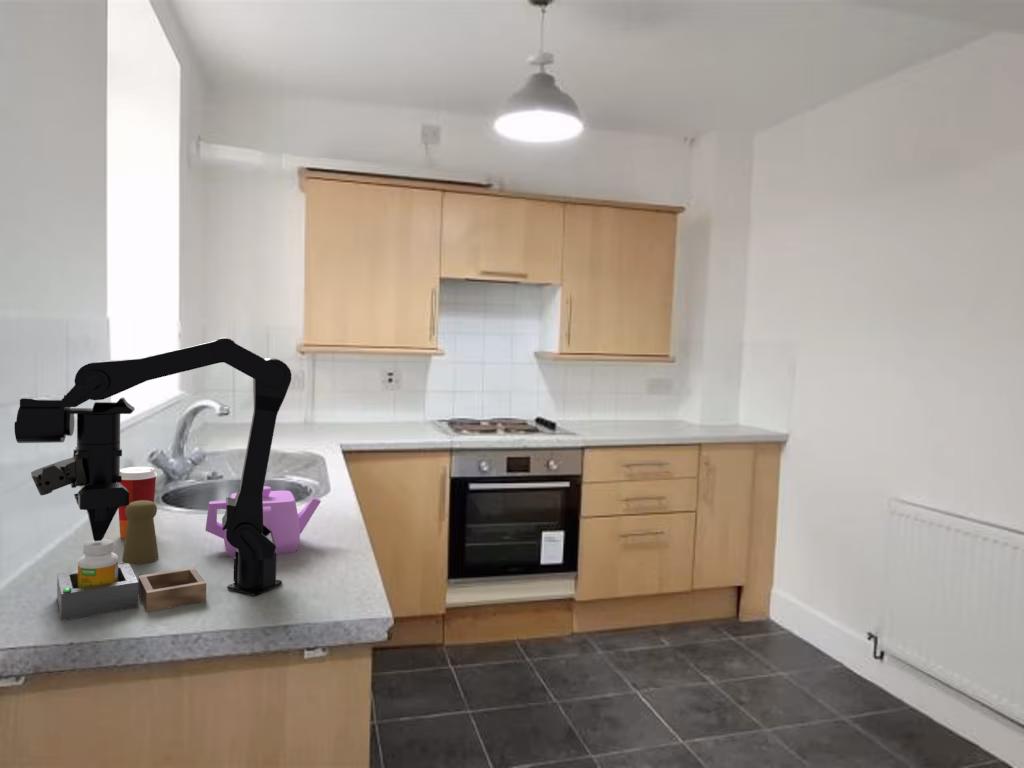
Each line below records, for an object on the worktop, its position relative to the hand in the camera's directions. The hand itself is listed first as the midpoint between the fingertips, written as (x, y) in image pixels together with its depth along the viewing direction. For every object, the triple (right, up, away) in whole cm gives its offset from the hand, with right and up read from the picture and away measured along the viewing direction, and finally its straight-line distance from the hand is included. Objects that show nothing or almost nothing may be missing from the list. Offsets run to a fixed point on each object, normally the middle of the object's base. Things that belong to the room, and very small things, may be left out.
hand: (97, 540), depth 105 cm
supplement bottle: (0, -10, +1) cm, 10 cm away
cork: (-5, -9, +21) cm, 23 cm away
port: (-1, -10, +1) cm, 10 cm away
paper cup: (-14, -7, +34) cm, 38 cm away
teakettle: (+14, -9, +33) cm, 37 cm away
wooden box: (+10, -10, +4) cm, 15 cm away
